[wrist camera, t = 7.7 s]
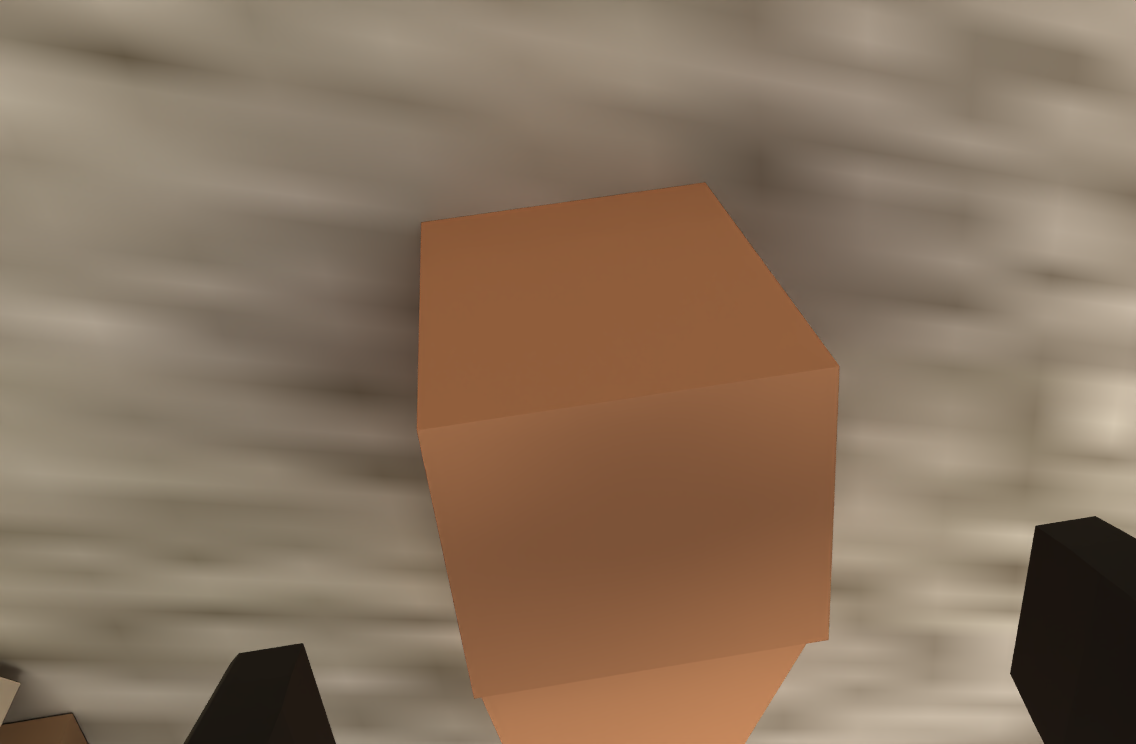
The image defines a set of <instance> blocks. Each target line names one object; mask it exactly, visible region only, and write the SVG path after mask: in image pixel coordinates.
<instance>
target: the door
mask: <svg viewBox="0 0 1136 744" xmlns="http://www.w3.org/2000/svg"><path fill="white" fill-rule="evenodd" d="M20 684H21V683H18V682H15V681H12V680H9V679H5V678H2V677H0V727H1V724H2V722H3V720H4V718H5V716H6V714H7V712H8V709H9V707H10V705H11V703H12V701H13V699H14V697H15V694H16V692H17V690H18V688H19V686H20Z"/></svg>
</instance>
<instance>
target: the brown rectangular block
mask: <svg viewBox="0 0 1136 744" xmlns="http://www.w3.org/2000/svg"><path fill="white" fill-rule="evenodd" d="M0 744H87V742H86V740H85V738H84V736H83V734H82V732H81V730H80V728H79V726H78V724H77V722H76V720H75V718H74V716H73V714H66V715H60V716H54V717H48V718H42V719H36V720H30V721H23V722H17V723H11V724H5V725H1V727H0Z"/></svg>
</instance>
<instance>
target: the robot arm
mask: <svg viewBox="0 0 1136 744" xmlns="http://www.w3.org/2000/svg"><path fill="white" fill-rule="evenodd" d="M1010 674H1011V676H1012V678H1013V680H1014V682H1015V685H1016V687H1017V689H1018V691H1019V693H1020V695H1021V697H1022V699H1023V701H1024V703H1025V706H1026V708H1027V710H1028V712H1029V714H1030V716H1031V718H1032V720H1033V722H1034V724H1035V726H1036V728H1037V730H1038V732H1039V734H1040V736H1041V738H1042V740H1043V742H1044V744H1136V538H1134V537H1132V536H1130V535H1129V534H1127V533H1125V532H1123V531H1122V530H1120V529H1118V528H1116V527H1114V526H1112V525H1111V524H1109V523H1107V522H1105V521H1103V520H1101V519H1100V518H1098V517H1096V516H1094V517H1087V518H1081V519H1075V520H1069V521H1062V522H1056V523H1050V524H1044V525H1038V526H1035V532H1034V538H1033V544H1032V549H1031V555H1030V561H1029V567H1028V573H1027V579H1026V584H1025V590H1024V596H1023V602H1022V608H1021V613H1020V619H1019V625H1018V631H1017V637H1016V643H1015V648H1014V654H1013V660H1012V666H1011V672H1010ZM184 744H336V743H335V740H334V737H333V733H332V730H331V727H330V724H329V721H328V718H327V715H326V712H325V709H324V706H323V703H322V700H321V697H320V694H319V690H318V687H317V684H316V681H315V678H314V675H313V672H312V669H311V666H310V663H309V660H308V657H307V654H306V651H305V647H304V644H303V643H301V644H294V645H288V646H282V647H276V648H269V649H263V650H257V651H251V652H244V653H239V654H238V655H237V656H236V657H235V659H234V660H233V661H232V662H231V664H230V665H229V667H228V668H227V670H226V672H225V674H224V675H223V677H222V679H221V681H220V682H219V684H218V686H217V687H216V689H215V691H214V693H213V694H212V696H211V698H210V700H209V701H208V703H207V705H206V706H205V708H204V710H203V712H202V713H201V715H200V717H199V718H198V720H197V722H196V724H195V725H194V727H193V729H192V730H191V732H190V734H189V735H188V737H187V739H186V740H185V742H184Z"/></svg>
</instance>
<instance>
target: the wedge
mask: <svg viewBox="0 0 1136 744" xmlns="http://www.w3.org/2000/svg"><path fill="white" fill-rule="evenodd" d="M838 391H839V365H838V364H837V362H836V361H835V360H834V358H833V357H832V355H831V354H830V353H829V351H828V350H827V349H826V347H825V346H824V344H823V343H822V342H821V340H820V339H819V338H818V336H817V335H816V334H815V332H814V331H813V329H812V328H811V327H810V325H809V324H808V323H807V321H806V320H805V318H804V317H803V316H802V314H801V313H800V312H799V310H798V309H797V308H796V306H795V305H794V303H793V302H792V301H791V299H790V298H789V297H788V295H787V294H786V292H785V291H784V290H783V288H782V287H781V286H780V284H779V283H778V282H777V280H776V279H775V277H774V276H773V275H772V273H771V272H770V271H769V269H768V268H767V266H766V265H765V264H764V262H763V261H762V260H761V258H760V257H759V256H758V254H757V253H756V251H755V250H754V249H753V247H752V246H751V245H750V243H749V242H748V240H747V239H746V238H745V236H744V235H743V234H742V232H741V231H740V230H739V228H738V227H737V225H736V224H735V223H734V221H733V220H732V219H731V217H730V216H729V214H728V213H727V212H726V210H725V209H724V208H723V206H722V205H721V204H720V202H719V201H718V199H717V198H716V197H715V195H714V194H713V193H712V191H711V190H710V188H709V187H708V186H707V184H706V183H698V184H690V185H683V186H676V187H669V188H662V189H655V190H648V191H641V192H634V193H626V194H619V195H612V196H605V197H598V198H591V199H584V200H577V201H570V202H562V203H555V204H548V205H541V206H534V207H527V208H520V209H513V210H506V211H498V212H491V213H484V214H477V215H470V216H463V217H456V218H449V219H441V220H434V221H427V222H421V258H420V305H419V351H418V397H417V434H418V438H419V443H420V448H421V452H422V457H423V462H424V466H425V471H426V476H427V480H428V485H429V490H430V494H431V499H432V504H433V508H434V513H435V518H436V522H437V527H438V532H439V536H440V541H441V546H442V550H443V555H444V560H445V565H446V569H447V574H448V579H449V583H450V588H451V593H452V597H453V602H454V607H455V611H456V616H457V621H458V625H459V630H460V635H461V639H462V644H463V649H464V653H465V658H466V663H467V667H468V672H469V677H470V681H471V686H472V691H473V695H474V699H475V698H481V697H482V700H483V702H484V704H485V706H486V709H487V711H488V713H489V715H490V717H491V720H492V722H493V724H494V726H495V729H496V731H497V733H498V735H499V737H500V740H501V742H502V744H745V742H746V741H747V739H748V737H749V736H750V734H751V732H752V731H753V729H754V728H755V726H756V724H757V723H758V721H759V720H760V718H761V716H762V715H763V713H764V711H765V710H766V708H767V707H768V705H769V703H770V702H771V700H772V698H773V697H774V695H775V694H776V692H777V690H778V689H779V687H780V686H781V684H782V682H783V681H784V679H785V677H786V676H787V674H788V673H789V671H790V669H791V668H792V666H793V665H794V663H795V661H796V660H797V658H798V656H799V655H800V653H801V652H802V650H803V648H804V647H805V645H806V644H807V643H813V642H819V641H825V640H828V639H829V615H830V590H831V565H832V540H833V515H834V490H835V465H836V441H837V416H838Z"/></svg>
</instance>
